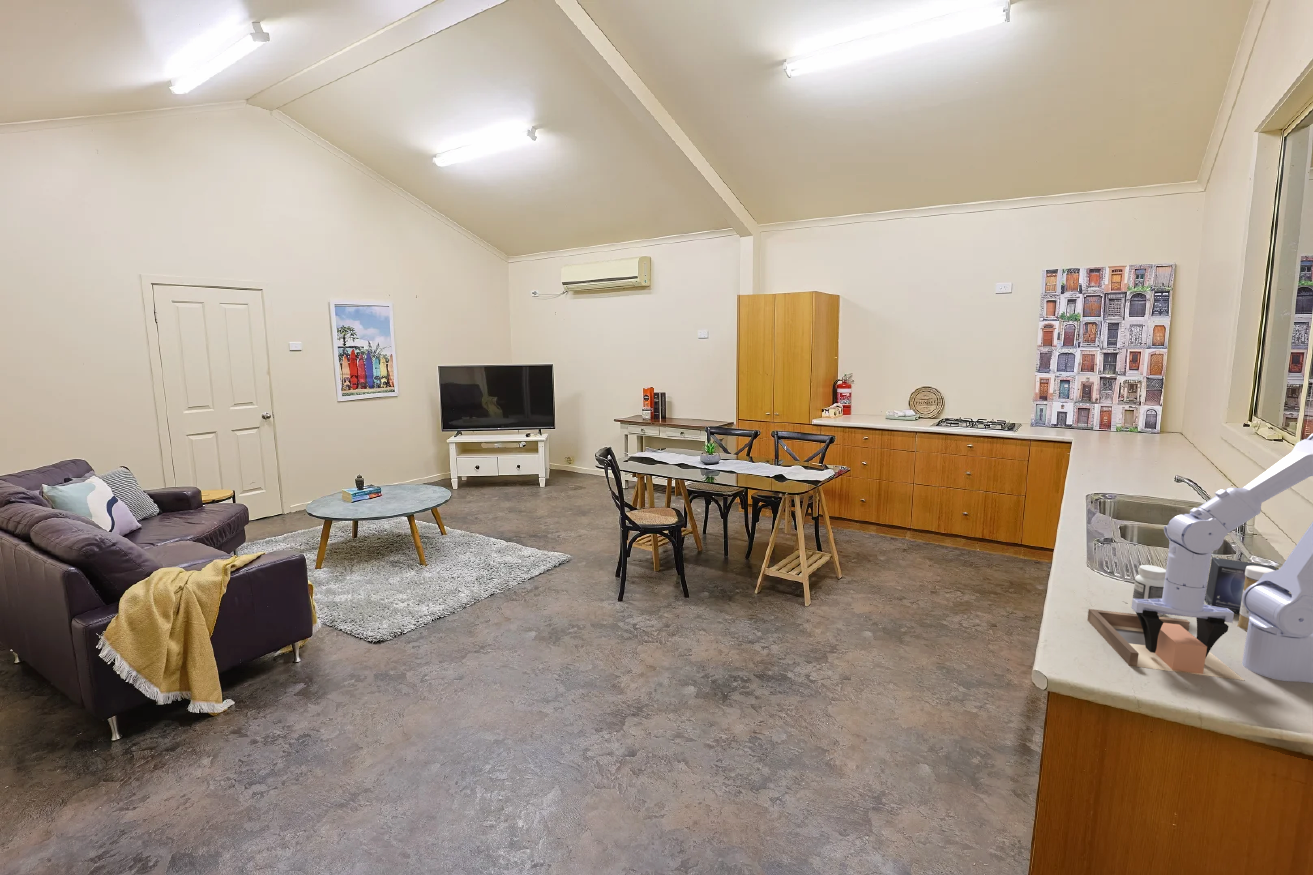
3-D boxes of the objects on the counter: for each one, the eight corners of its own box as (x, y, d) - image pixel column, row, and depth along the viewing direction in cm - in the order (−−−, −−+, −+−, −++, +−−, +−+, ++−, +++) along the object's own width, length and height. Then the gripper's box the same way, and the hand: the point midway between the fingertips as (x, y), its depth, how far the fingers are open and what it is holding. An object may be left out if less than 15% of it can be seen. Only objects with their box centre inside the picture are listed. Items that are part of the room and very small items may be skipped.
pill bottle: (1165, 611, 135) (1171, 568, 134) (1162, 619, 131) (1169, 575, 130) (1132, 603, 139) (1138, 561, 138) (1129, 611, 135) (1135, 568, 134)
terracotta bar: (1147, 646, 117) (1151, 621, 117) (1175, 649, 116) (1179, 624, 115) (1172, 669, 109) (1176, 643, 108) (1202, 673, 108) (1207, 646, 107)
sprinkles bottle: (1271, 634, 125) (1282, 570, 123) (1260, 638, 123) (1271, 574, 121) (1242, 624, 129) (1252, 563, 127) (1231, 628, 127) (1241, 566, 125)
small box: (1210, 610, 136) (1217, 564, 135) (1203, 599, 142) (1210, 556, 140) (1276, 621, 131) (1284, 574, 129) (1265, 610, 137) (1273, 565, 135)
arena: (1184, 635, 124) (1186, 619, 123) (1244, 685, 106) (1247, 666, 105) (1086, 624, 128) (1088, 608, 128) (1128, 670, 110) (1130, 652, 110)
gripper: (1221, 578, 112) (1210, 648, 114) (1127, 569, 116) (1119, 637, 118) (1245, 593, 105) (1233, 667, 107) (1146, 583, 109) (1136, 655, 111)
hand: (1175, 653), depth 112 cm, fingers open, 7 cm apart
